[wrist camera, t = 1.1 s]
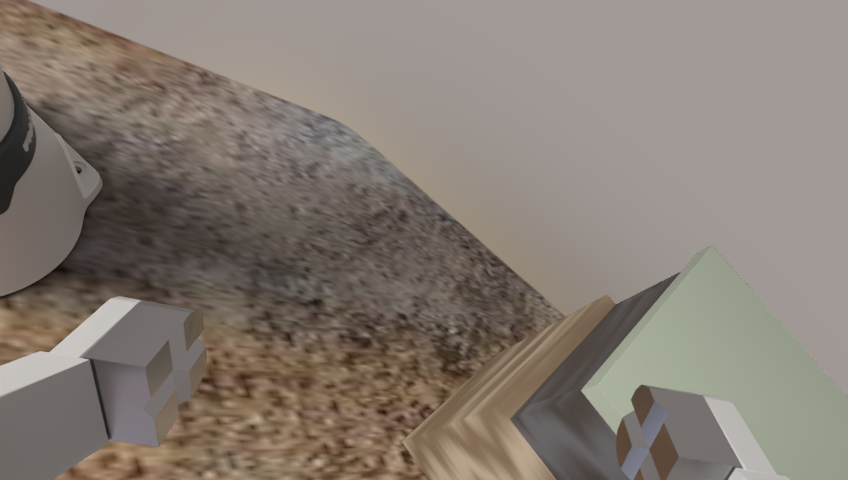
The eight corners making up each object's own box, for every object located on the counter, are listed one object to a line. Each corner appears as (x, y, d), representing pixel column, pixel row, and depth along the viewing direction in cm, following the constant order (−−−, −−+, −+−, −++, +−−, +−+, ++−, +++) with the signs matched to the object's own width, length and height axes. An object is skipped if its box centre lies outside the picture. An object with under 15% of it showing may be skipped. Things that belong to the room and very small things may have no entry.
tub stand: (401, 441, 46) (579, 376, 25) (494, 355, 54) (689, 250, 33) (512, 595, 44) (811, 664, 23) (592, 480, 52) (869, 454, 31)
